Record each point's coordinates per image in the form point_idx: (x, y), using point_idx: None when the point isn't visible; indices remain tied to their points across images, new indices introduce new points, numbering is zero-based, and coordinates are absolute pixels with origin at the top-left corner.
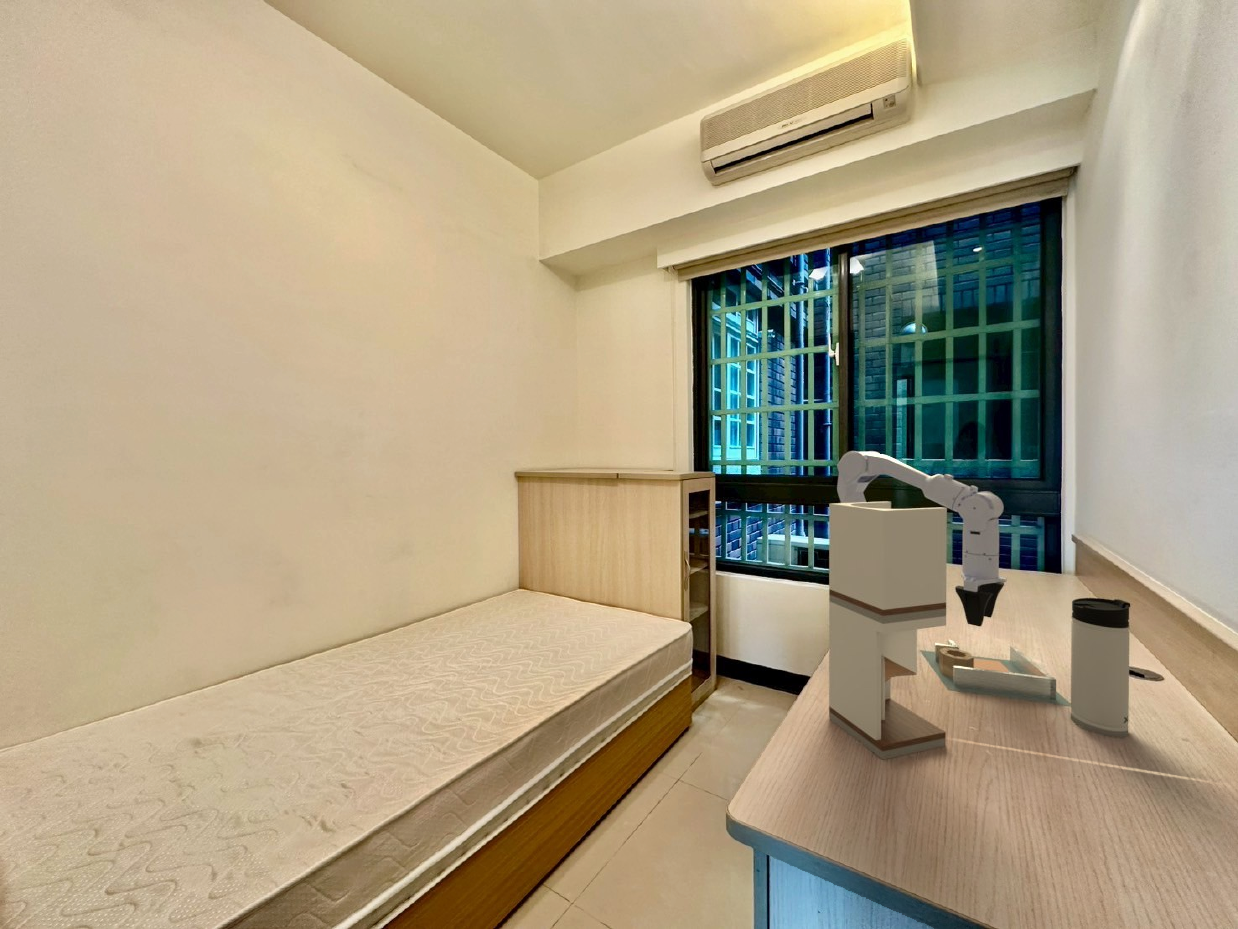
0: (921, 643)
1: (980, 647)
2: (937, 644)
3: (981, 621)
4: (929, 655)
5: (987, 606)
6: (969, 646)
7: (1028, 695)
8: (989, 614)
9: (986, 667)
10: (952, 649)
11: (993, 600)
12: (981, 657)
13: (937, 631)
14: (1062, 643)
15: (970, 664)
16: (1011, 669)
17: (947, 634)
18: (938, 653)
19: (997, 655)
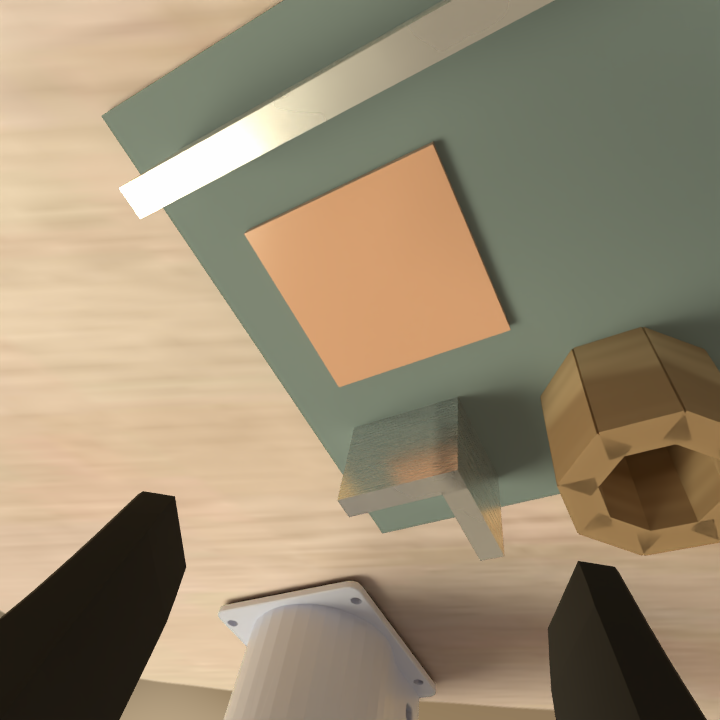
0: (259, 526)
1: (52, 325)
2: (494, 551)
3: (643, 621)
4: (426, 501)
5: (116, 625)
6: (93, 368)
7: None
8: (162, 530)
9: (421, 286)
10: (586, 506)
11: (40, 690)
12: (241, 315)
13: (21, 488)
14: None
15: (714, 397)
16: (313, 160)
17: (17, 454)
18: (496, 505)
19: (97, 244)
